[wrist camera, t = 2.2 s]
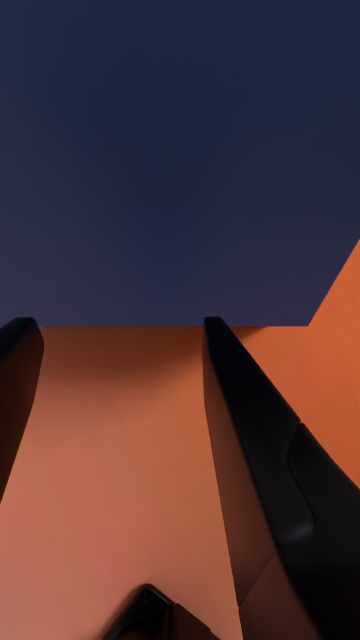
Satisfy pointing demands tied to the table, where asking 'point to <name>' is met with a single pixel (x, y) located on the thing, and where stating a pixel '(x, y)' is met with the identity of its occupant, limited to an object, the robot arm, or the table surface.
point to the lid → (176, 159)
